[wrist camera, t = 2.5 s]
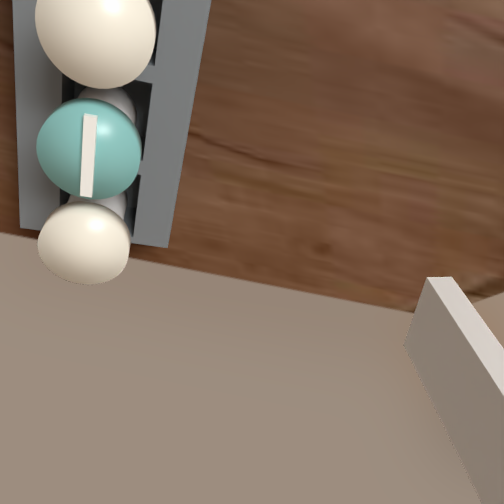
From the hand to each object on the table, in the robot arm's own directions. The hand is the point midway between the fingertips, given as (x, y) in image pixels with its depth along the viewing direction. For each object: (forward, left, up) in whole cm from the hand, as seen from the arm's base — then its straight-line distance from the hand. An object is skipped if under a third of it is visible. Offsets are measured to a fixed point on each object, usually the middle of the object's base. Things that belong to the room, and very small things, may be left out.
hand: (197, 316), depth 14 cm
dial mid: (-5, -2, -20) cm, 20 cm away
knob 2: (-5, -8, -20) cm, 22 cm away
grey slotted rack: (-5, -2, -24) cm, 24 cm away
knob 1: (-5, +4, -20) cm, 21 cm away
